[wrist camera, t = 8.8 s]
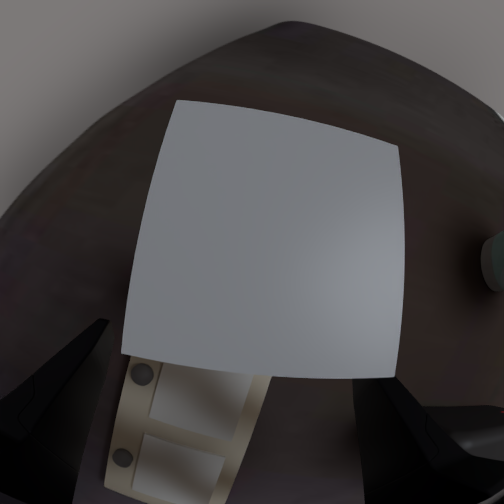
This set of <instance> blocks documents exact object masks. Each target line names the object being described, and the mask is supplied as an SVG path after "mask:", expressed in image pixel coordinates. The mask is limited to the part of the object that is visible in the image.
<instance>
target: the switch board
mask: <svg viewBox="0 0 504 504" xmlns="http://www.w3.org/2000/svg"><path fill="white" fill-rule="evenodd" d="M271 377H272V376H265V375H254V374H243V373H234V372H225V371H217V370H210V369H203V368H196V367H189V366H183V365H177V364H171V363H166V362H160V361H155V360H150V359H145V358H140V357H136V356H131V358H130V362H129V365H128V369H127V373H126V377H125V381H124V385H123V389H122V394H121V398H120V402H119V407H118V411H117V416H116V420H115V425H114V430H113V435H112V440H111V446H110V451H109V457H108V463H107V469H106V475H105V482H104V487H106V488H109V489H111V490H113V491H116V492H118V493H121V494H123V495H126V496H129V497H131V498H134V499H137V500H140V501H142V502H145V503H148V504H225V502H226V500H227V497H228V495H229V493H230V490H231V488H232V485H233V483H234V480H235V478H236V475H237V472H238V470H239V467H240V465H241V462H242V459H243V457H244V454H245V451H246V449H247V446H248V443H249V441H250V438H251V435H252V432H253V429H254V427H255V424H256V421H257V418H258V415H259V412H260V409H261V407H262V404H263V401H264V398H265V395H266V392H267V389H268V386H269V383H270V380H271Z"/></svg>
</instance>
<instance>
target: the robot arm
mask: <svg viewBox="0 0 504 504" xmlns="http://www.w3.org/2000/svg"><path fill="white" fill-rule="evenodd" d="M113 343H114V333H113V329H112V324H111V322H110V321H109V320H106V319H101V318H100V319H98V320H97V321H95V322H94V323H93V324H92V325H90V326H89V327H88V328H87V329H86V330H84V331H83V332H82V333H81V334H80V335H78V336H77V337H76V338H75V339H74V340H72V341H71V342H70V343H69V344H68V345H66V346H65V347H64V348H63V349H62V350H60V351H59V352H58V353H57V354H56V355H55V356H53V357H52V358H51V359H50V360H49V361H47V362H46V363H45V364H44V365H43V366H42V367H41V368H39V369H38V370H37V371H36V372H35V373H34V374H33V375H31V376H30V377H29V378H28V379H27V380H26V381H24V382H23V383H22V384H21V385H20V386H18V387H17V388H16V389H15V390H13V391H12V392H11V393H9V394H8V395H7V396H5V397H4V398H2V399H1V400H0V504H72V501H73V496H74V491H75V486H76V482H77V477H78V472H79V468H80V464H81V460H82V456H83V452H84V448H85V444H86V440H87V437H88V433H89V430H90V426H91V423H92V419H93V416H94V413H95V409H96V406H97V403H98V400H99V397H100V394H101V391H102V388H103V385H104V381H105V378H106V374H107V369H108V365H109V360H110V356H111V352H112V347H113ZM352 382H353V401H354V410H355V417H356V424H357V431H358V439H359V447H360V455H361V464H362V474H363V484H364V494H365V495H364V498H365V504H504V461H500V460H494V459H488V458H483V457H478V456H474V455H472V454H470V453H468V452H466V451H465V450H464V449H463V448H462V447H461V446H460V445H459V444H458V443H456V442H455V441H454V440H453V439H452V438H451V437H450V436H449V435H448V434H447V433H446V432H445V431H444V430H443V429H442V428H441V427H440V426H439V425H438V424H437V423H436V422H435V421H434V419H433V418H432V417H431V416H430V415H429V414H428V413H427V412H426V410H425V409H424V408H423V407H422V406H421V405H420V404H419V402H418V401H417V400H416V399H415V398H414V397H413V396H412V395H411V393H410V392H409V391H408V390H407V389H406V388H405V387H404V386H403V384H402V383H401V382H400V381H399V380H398V379H397V378H396V377H395V375H394V377H385V378H352Z"/></svg>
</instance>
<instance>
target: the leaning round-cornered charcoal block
mask: <svg viewBox="0 0 504 504" xmlns="http://www.w3.org/2000/svg"><path fill="white" fill-rule="evenodd" d="M423 408H424V409H425V410H426V412H427V413H428V414H429V415H430V416H431V417H432V418H433V419H434V421H435V422H436V423H437V424H438V425H439V426H440V427H441V428H442V429H443V430H444V431H445V432H446V433H447V434H448V435H449V436H450V437H451V438H452V439H453V440H454V441H455V442H456V443H458V444H459V445H460V446H461V447H462V448H463V449H464V450H465V451H466V452H468V453H470V454H472V455H474V456H478V457H483V458H488V459H494V460H500V461H504V408H501V407H496V406H489V405H483V406H463V407H423Z"/></svg>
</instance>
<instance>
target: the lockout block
mask: <svg viewBox="0 0 504 504" xmlns="http://www.w3.org/2000/svg"><path fill="white" fill-rule="evenodd" d="M403 289H404V210H403V194H402V181H401V170H400V161H399V152H398V146H395V145H392V144H390V143H387V142H384V141H381V140H378V139H375V138H371V137H368V136H365V135H362V134H358V133H355V132H352V131H348V130H345V129H341V128H337V127H334V126H330V125H326V124H322V123H318V122H314V121H310V120H305V119H301V118H297V117H292V116H287V115H282V114H277V113H272V112H267V111H261V110H255V109H249V108H243V107H236V106H229V105H222V104H214V103H205V102H195V101H184V100H177V101H176V104H175V107H174V110H173V113H172V116H171V119H170V122H169V125H168V128H167V131H166V134H165V137H164V140H163V143H162V147H161V150H160V153H159V157H158V160H157V164H156V167H155V171H154V174H153V178H152V182H151V186H150V189H149V193H148V197H147V201H146V206H145V210H144V214H143V218H142V223H141V227H140V232H139V237H138V242H137V247H136V252H135V257H134V262H133V268H132V274H131V280H130V286H129V292H128V299H127V306H126V313H125V321H124V330H123V339H122V349H121V353H122V354H127V355H131V356H136V357H140V358H145V359H150V360H155V361H160V362H166V363H171V364H177V365H183V366H189V367H196V368H203V369H210V370H217V371H225V372H234V373H243V374H254V375H265V376H279V377H297V378H335V379H348V378H385V377H394V375H395V369H396V362H397V355H398V347H399V339H400V329H401V319H402V306H403Z"/></svg>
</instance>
